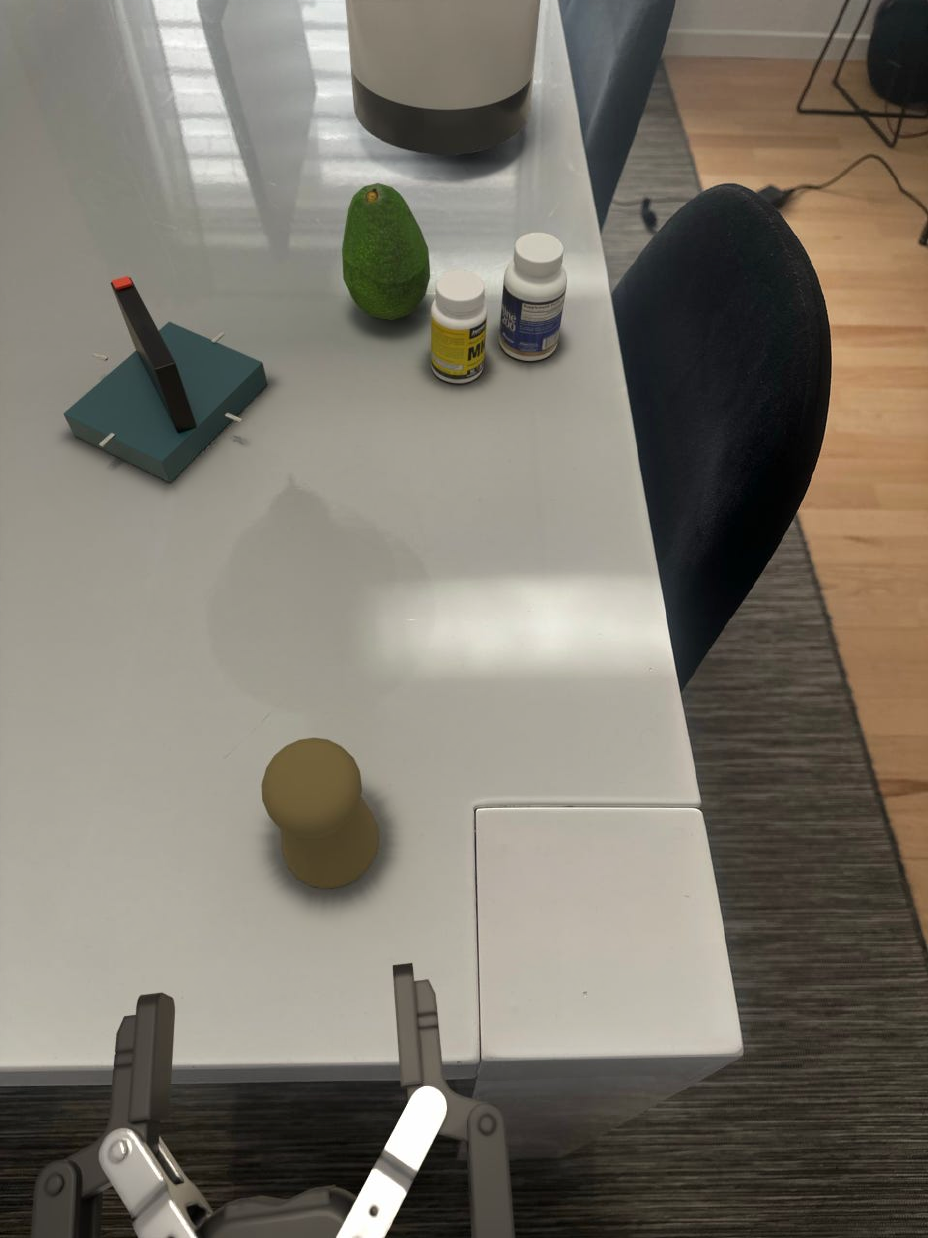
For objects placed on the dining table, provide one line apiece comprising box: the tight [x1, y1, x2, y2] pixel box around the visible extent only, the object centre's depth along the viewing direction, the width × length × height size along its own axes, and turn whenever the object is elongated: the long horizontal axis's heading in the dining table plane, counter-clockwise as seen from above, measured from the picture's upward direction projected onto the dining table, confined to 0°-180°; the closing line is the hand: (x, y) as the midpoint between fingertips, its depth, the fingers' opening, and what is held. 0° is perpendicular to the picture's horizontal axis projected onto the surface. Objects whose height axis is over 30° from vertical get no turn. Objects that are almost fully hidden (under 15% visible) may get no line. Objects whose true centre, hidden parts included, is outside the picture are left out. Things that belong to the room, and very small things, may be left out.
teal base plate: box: [63, 321, 268, 484], centre depth 69 cm, size 15×15×3 cm
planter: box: [344, 0, 541, 156], centre depth 86 cm, size 19×19×18 cm
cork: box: [261, 737, 380, 890], centre depth 47 cm, size 6×6×11 cm
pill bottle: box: [498, 232, 568, 362], centre depth 72 cm, size 5×5×10 cm
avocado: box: [341, 182, 431, 321], centre depth 73 cm, size 8×8×12 cm
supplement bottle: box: [430, 269, 488, 384], centre depth 71 cm, size 5×5×8 cm
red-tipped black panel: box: [110, 275, 197, 433], centre depth 65 cm, size 11×2×7 cm, turn 29°
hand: (281, 981), depth 29 cm, fingers open, 8 cm apart
